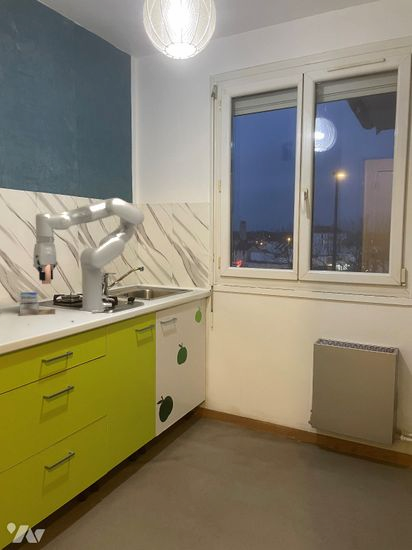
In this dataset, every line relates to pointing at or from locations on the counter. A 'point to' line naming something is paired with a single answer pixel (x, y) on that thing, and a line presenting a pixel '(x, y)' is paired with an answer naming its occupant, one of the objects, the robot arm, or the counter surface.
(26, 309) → the socket board
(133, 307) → the counter surface
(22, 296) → the medicine box
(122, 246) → the robot arm
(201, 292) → the counter surface
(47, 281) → the peg
